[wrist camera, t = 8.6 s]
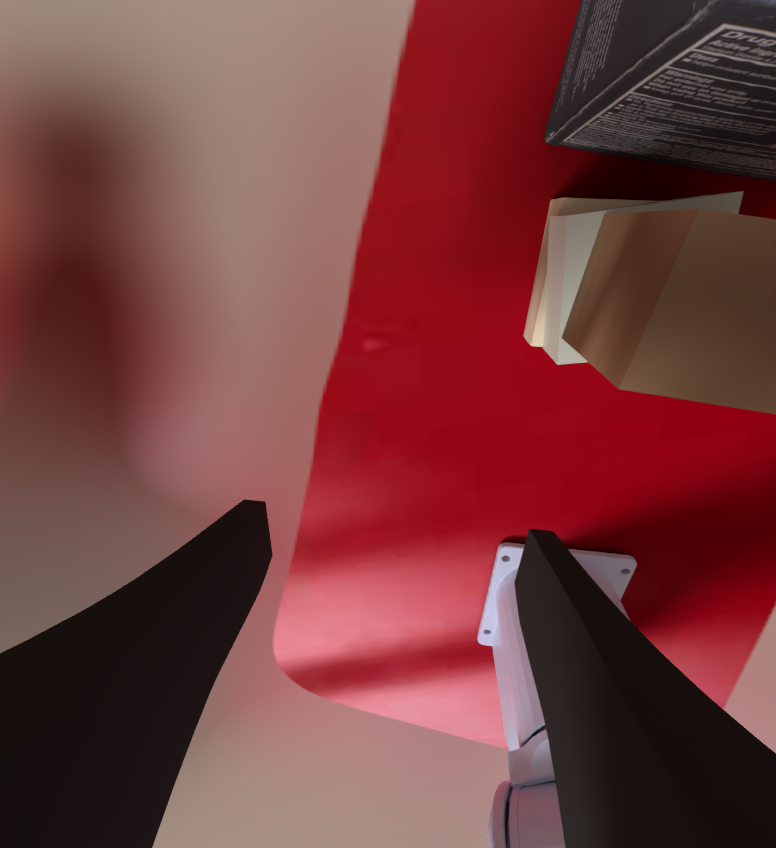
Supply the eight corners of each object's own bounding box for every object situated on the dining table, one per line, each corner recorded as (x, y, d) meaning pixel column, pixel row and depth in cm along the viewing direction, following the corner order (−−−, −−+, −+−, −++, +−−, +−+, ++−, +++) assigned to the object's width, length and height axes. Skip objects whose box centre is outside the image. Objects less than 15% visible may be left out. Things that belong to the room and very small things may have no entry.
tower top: (671, 336, 16) (704, 352, 14) (543, 348, 17) (557, 364, 15) (699, 195, 14) (743, 190, 12) (549, 216, 14) (567, 215, 12)
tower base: (640, 340, 18) (665, 354, 16) (521, 333, 19) (530, 345, 17) (687, 205, 16) (723, 203, 14) (547, 200, 16) (562, 197, 14)
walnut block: (671, 355, 14) (781, 415, 10) (561, 337, 14) (618, 389, 10) (731, 232, 12) (902, 237, 8) (603, 214, 12) (698, 208, 8)
